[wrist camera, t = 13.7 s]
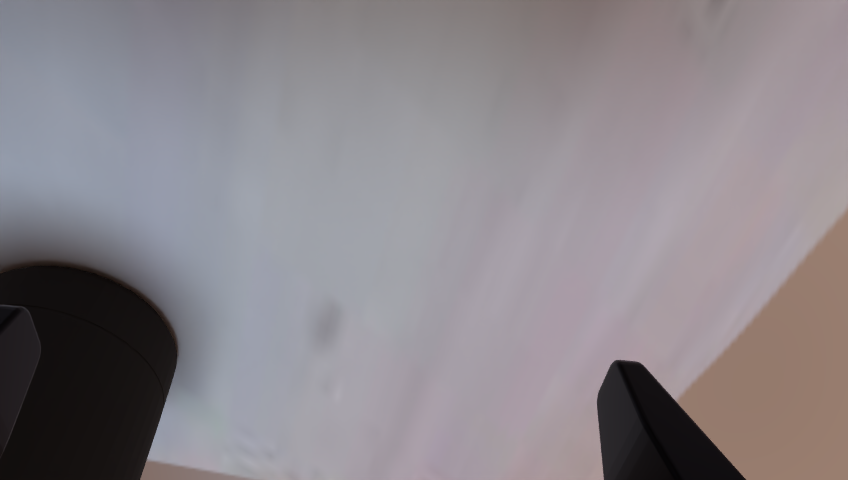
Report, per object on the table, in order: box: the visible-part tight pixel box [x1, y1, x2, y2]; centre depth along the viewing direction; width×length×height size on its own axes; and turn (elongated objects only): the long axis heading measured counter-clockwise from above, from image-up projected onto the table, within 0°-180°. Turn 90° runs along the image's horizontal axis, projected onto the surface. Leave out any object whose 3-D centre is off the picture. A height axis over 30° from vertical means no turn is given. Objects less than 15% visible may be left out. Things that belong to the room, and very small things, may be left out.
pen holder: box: [0, 266, 177, 480], centre depth 25 cm, size 9×9×10 cm
